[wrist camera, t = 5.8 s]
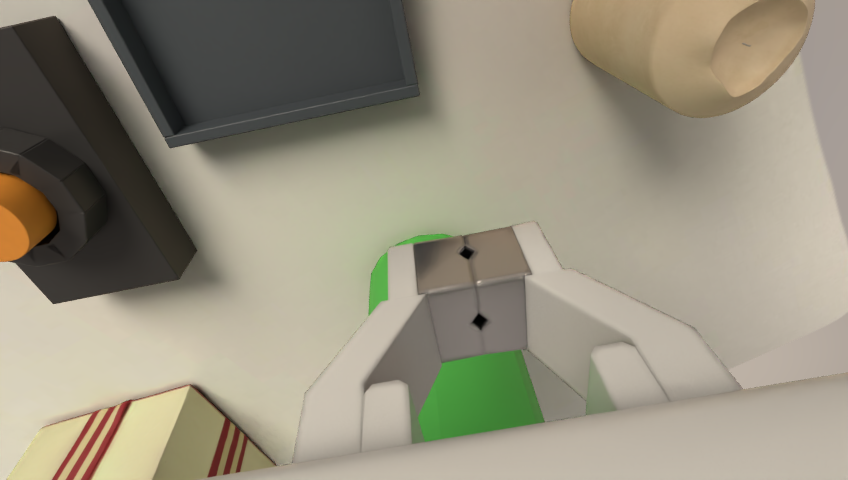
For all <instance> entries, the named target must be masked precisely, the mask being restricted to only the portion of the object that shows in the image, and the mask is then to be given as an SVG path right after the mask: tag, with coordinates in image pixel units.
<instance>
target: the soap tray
mask: <svg viewBox="0 0 848 480" xmlns="http://www.w3.org/2000/svg"><path fill="white" fill-rule="evenodd" d="M88 2H89V4H90V5H91V7H92V9H93V11H94V13H95V14H96V16H97V18H98V20H99V22H100V23H101V25H102V27H103V29H104V31H105V32H106V34H107V36H108V38H109V40H110V41H111V43H112V45H113V47H114V49H115V50H116V52H117V54H118V56H119V58H120V59H121V61H122V63H123V65H124V67H125V68H126V70H127V72H128V74H129V76H130V77H131V79H132V81H133V83H134V85H135V86H136V88H137V90H138V92H139V94H140V96H141V97H142V99H143V101H144V103H145V105H146V106H147V108H148V110H149V112H150V114H151V115H152V117H153V119H154V121H155V123H156V124H157V126H158V128H159V130H160V132H161V133H162V135H163V137H165V141H166V142H167V144H168V146H169V148H174V147H179V146H183V145H188V144H193V143H198V142H202V141H207V140H212V139H217V138H221V137H226V136H231V135H236V134H240V133H245V132H250V131H255V130H259V129H264V128H269V127H274V126H278V125H283V124H288V123H293V122H297V121H302V120H307V119H312V118H316V117H321V116H326V115H331V114H335V113H340V112H345V111H350V110H354V109H359V108H364V107H369V106H373V105H378V104H383V103H388V102H392V101H397V100H402V99H407V98H411V97H416V96H419V95H420V92H419V87H418V82H417V77H416V71H415V66H414V61H413V55H412V50H411V45H410V40H409V34H408V29H407V24H406V18H405V13H404V8H403V3H402V0H88Z"/></svg>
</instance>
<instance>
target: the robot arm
mask: <svg viewBox="0 0 848 480" xmlns="http://www.w3.org/2000/svg"><path fill="white" fill-rule="evenodd" d="M521 349H528V351H529V352H530V353H531V354H533V355H534V356H535V357H536V358H537V359H538V360H539V361H541V362H542V363H543V364H544V365H545V366H546V367H547V368H549V369H550V370H551V371H552V372H553V373H554V374H556V375H557V376H558V377H559V378H560V379H561V380H562V381H564V382H565V383H566V384H567V385H568V386H569V387H571V388H572V389H573V390H574V391H575V392H576V393H577V394H579V395H580V396H581V397H582V398H583V399H584V400H585V401H587V405H586V415H585V416H579V417H573V418H567V419H561V420H555V421H549V422H543V423H537V424H531V425H525V426H518V427H512V428H506V429H500V430H494V431H488V432H482V433H476V434H470V435H464V436H457V437H451V438H445V439H439V440H433V441H427V442H425V440H424V437H423V434H422V430H421V427H420V424H419V420H418V416H419V414H420V411H421V409H422V407H423V405H424V403H425V401H426V399H427V397H428V394H429V392H430V390H431V388H432V386H433V384H434V382H435V380H436V378H437V375H438V373H439V371H440V369H441V367H442V363H445V362H450V361H455V360H460V359H465V358H470V357H476V356H481V355H486V354H493V353H500V352H507V351H514V350H521ZM196 480H848V373H841V374H835V375H829V376H822V377H817V378H810V379H804V380H798V381H792V382H786V383H780V384H774V385H768V386H762V387H755V388H749V389H743V388H742V387H741V386H740V385H739V383H738V382H737V381H736V380H735V378H734V377H733V376H732V375H731V373H730V372H729V371H728V369H727V368H726V367H725V366H724V364H723V363H722V362H721V361H720V359H719V358H718V357H717V356H716V354H715V353H714V352H713V351H712V349H711V348H710V347H709V346H708V344H707V343H706V342H705V341H704V339H703V338H702V337H701V336H700V334H699V333H698V332H697V331H696V329H695V328H693V327H691V326H689V325H687V324H685V323H683V322H681V321H679V320H677V319H675V318H673V317H671V316H669V315H667V314H665V313H663V312H661V311H658V310H656V309H654V308H652V307H650V306H648V305H646V304H644V303H642V302H640V301H638V300H636V299H634V298H632V297H630V296H628V295H625V294H623V293H621V292H619V291H617V290H615V289H613V288H611V287H609V286H607V285H605V284H603V283H601V282H599V281H597V280H595V279H592V278H590V277H588V276H586V275H584V274H582V273H580V272H578V271H576V270H574V269H572V268H568V269H563V268H562V266H561V264H560V262H559V261H558V259H557V257H556V255H555V253H554V251H553V250H552V248H551V246H550V244H549V242H548V241H547V239H546V237H545V235H544V233H543V232H542V230H541V228H540V226H539V224H538V223H537V222H535V221H531V222H526V223H521V224H517V225H512V226H510V227H505V228H499V229H494V230H489V231H484V232H479V233H474V234H469V235H464V236H462V235H460V236H454V237H447V238H441V239H435V240H429V241H422V242H416V243H414V244H412V243H410V244H404V245H399V246H393V247H389V249H388V300H386V301H381V302H380V303H379V304H378V305H377V307H376V308H375V309H374V310H373V311H372V313H371V314H370V315H369V316H368V317H367V319H366V320H365V321H364V322H363V324H362V325H361V326H360V327H359V328H358V330H357V331H356V332H355V333H354V334H353V336H352V337H351V338H350V339H349V340H348V342H347V343H346V344H345V345H344V346H343V348H342V349H341V350H340V351H339V352H338V354H337V355H336V356H335V357H334V358H333V360H332V361H331V362H330V363H329V365H328V366H327V367H326V368H325V369H324V371H323V372H322V373H321V374H320V375H319V377H318V378H317V379H316V380H315V381H314V383H313V384H312V385H311V386H310V387H309V389H308V390H307V391H306V392H305V395H304V400H303V405H302V411H301V416H300V422H299V427H298V433H297V438H296V444H295V449H294V455H293V460H292V464H287V465H281V466H275V467H269V468H263V469H257V470H251V471H244V472H238V473H232V474H226V475H220V476H214V477H208V478H202V479H196Z"/></svg>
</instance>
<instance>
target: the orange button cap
mask: <svg viewBox="0 0 848 480" xmlns="http://www.w3.org/2000/svg"><path fill="white" fill-rule="evenodd" d="M56 223H57V214H56V210H55V208H54V207H53V205H52V204H51V203H50V201H49V200H48V199H47V198H46V196H45V195H44V194H43V193H42V192H41V191H39V190H37V189H36V188H34V187H33V186H31V185H29V184H28V183H26V182H24V181H23V180H21V179H20V178H18V177H16V176H13V175H10V174H5V173H0V262H7V261H13V260H16V259H19V258H21V257H22V256H24V255H25V254H26V253H27V252H29V251H30V250H31V249H32V248H33V247H34V246H35V245H37V244H38V243H39V242H40V241H41V240H42V239H44V238H45V237H46V236H47V235H48V234H49V233H50V232H51V231H52V230H53V229H54V228H55V226H56Z"/></svg>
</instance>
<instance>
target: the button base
mask: <svg viewBox="0 0 848 480" xmlns="http://www.w3.org/2000/svg"><path fill="white" fill-rule="evenodd" d="M0 173H5V174H10V175H13V176H16V177H18V178H20V179H21V180H23V181H24V182H26V183H28V184H29V185H31V186H33V187H34V188H36V189H37V190H39V191H41V192H42V193H43V194H44V195H45V196H46V198H47V199H48V200H49V201H50V203H51V204H52V205H53V207H54V208H55V210H56V214H57V223H56V226H55V228H54V229H53V230H52V231H51V232H50V233H49V234H48V235H47V236H46V237H45V238H44V239H42V240H41V241H40V242H39V243H38V244H37V245H35V246H34V247H33V248H32V249H31V250H30V251H29V252H27V253H26V254H25V255H24V256H22V257H21V258H19V259H16V260H13V261H8V262H14V263H16V264H17V265H18V266H19V267H20V269H21V270H22V271H23V272H24V273H25V274H26V275H27V276H28V277H29V278H30V279H31V281H32V282H33V283H34V284H35V285H36V286H37V287H38V288H39V289H40V290H41V291H42V292H43V294H44V295H45V296H46V297H47V298H48V299H49V300H50V301H51V302H52V303H53V304H57V303H62V302H67V301H72V300H77V299H82V298H87V297H92V296H97V295H102V294H108V293H113V292H118V291H123V290H128V289H133V288H138V287H143V286H148V285H153V284H158V283H163V282H169V281H174V280H179V279H180V277H181V276H182V274H183V272H184V271H185V269H186V268H187V266H188V264H189V263H190V261H191V259H192V258H193V256H194V254H195V253H196V251H197V250H196V248H195V247H194V245H193V243H192V242H191V240H190V238H189V237H188V235H187V233H186V232H185V230H184V228H183V227H182V225H181V223H180V222H179V220H178V218H177V217H176V215H175V213H174V212H173V210H172V208H171V207H170V205H169V203H168V202H167V200H166V198H165V197H164V195H163V193H162V192H161V190H160V188H159V187H158V185H157V184H156V182H155V180H154V179H153V177H152V175H151V174H150V172H149V170H148V169H147V167H146V165H145V164H144V162H143V160H142V159H141V157H140V155H139V154H138V152H137V150H136V149H135V147H134V145H133V144H132V142H131V140H130V139H129V137H128V135H127V134H126V132H125V130H124V129H123V127H122V125H121V124H120V122H119V120H118V119H117V117H116V115H115V114H114V112H113V111H112V109H111V107H110V106H109V104H108V102H107V101H106V99H105V97H104V96H103V94H102V92H101V91H100V89H99V87H98V86H97V84H96V82H95V81H94V79H93V77H92V76H91V74H90V72H89V71H88V69H87V67H86V66H85V64H84V62H83V61H82V59H81V57H80V56H79V54H78V52H77V51H76V49H75V47H74V46H73V44H72V42H71V41H70V39H69V37H68V36H67V34H66V33H65V31H64V29H63V28H62V26H61V24H60V23H59V21H58V19H57V18H56V16H51V17H47V18H42V19H38V20H33V21H29V22H25V23H20V24H16V25H11V26H7V27H2V28H0Z"/></svg>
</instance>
